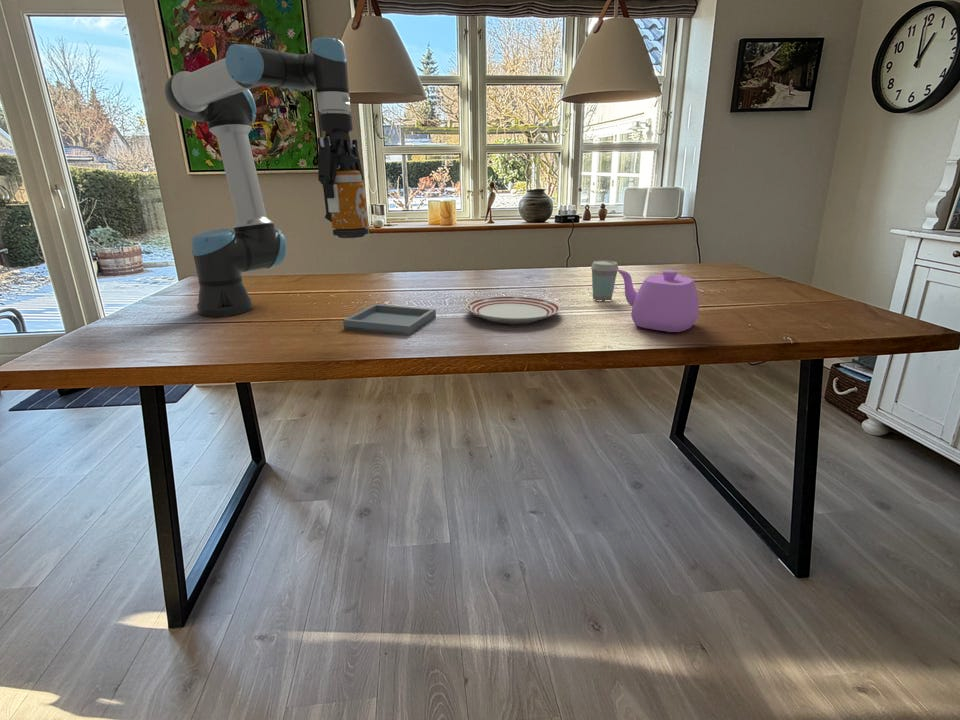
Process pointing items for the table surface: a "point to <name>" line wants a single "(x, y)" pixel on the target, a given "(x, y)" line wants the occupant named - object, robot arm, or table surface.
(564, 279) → the table surface
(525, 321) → the dinner plate
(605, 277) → the coffee cup
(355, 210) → the canister
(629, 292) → the teapot
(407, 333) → the tray
